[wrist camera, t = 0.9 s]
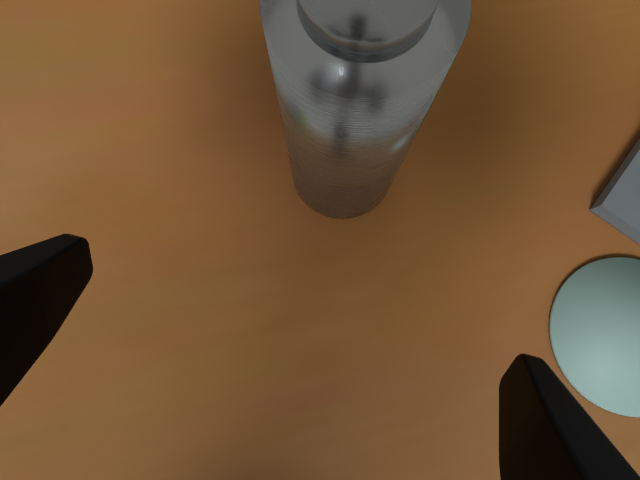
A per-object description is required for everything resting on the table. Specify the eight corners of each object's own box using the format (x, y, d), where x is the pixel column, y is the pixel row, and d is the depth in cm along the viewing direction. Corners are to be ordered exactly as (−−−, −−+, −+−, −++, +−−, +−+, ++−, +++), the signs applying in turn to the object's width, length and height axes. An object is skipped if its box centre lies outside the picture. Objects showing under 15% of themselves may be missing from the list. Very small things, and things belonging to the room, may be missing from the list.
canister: (351, 238, 23) (394, 121, 10) (272, 178, 24) (206, -13, 10) (411, 162, 24) (530, -48, 10) (333, 106, 25) (347, -163, 11)
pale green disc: (655, 451, 21) (658, 452, 21) (519, 347, 22) (520, 348, 22) (733, 320, 22) (737, 321, 22) (600, 228, 23) (603, 227, 23)
